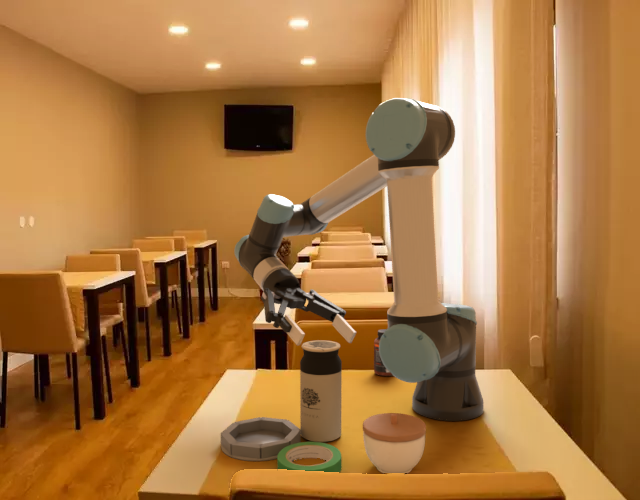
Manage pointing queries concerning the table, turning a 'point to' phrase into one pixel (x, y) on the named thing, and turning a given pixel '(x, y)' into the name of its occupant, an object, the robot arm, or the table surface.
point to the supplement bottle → (378, 363)
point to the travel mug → (320, 391)
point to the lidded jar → (394, 441)
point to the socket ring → (258, 438)
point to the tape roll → (310, 451)
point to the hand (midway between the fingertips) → (327, 338)
